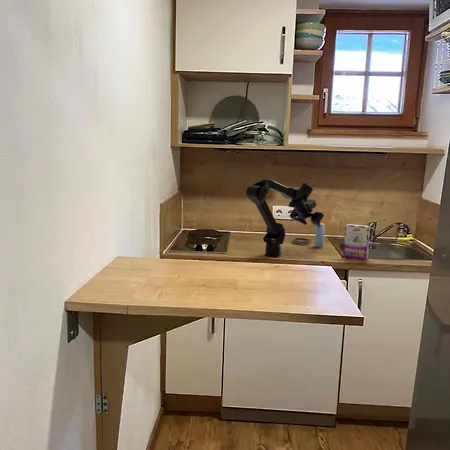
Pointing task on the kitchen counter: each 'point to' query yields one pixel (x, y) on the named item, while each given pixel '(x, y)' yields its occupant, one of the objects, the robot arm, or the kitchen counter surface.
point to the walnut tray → (301, 241)
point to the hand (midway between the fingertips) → (313, 225)
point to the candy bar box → (356, 241)
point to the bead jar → (319, 236)
